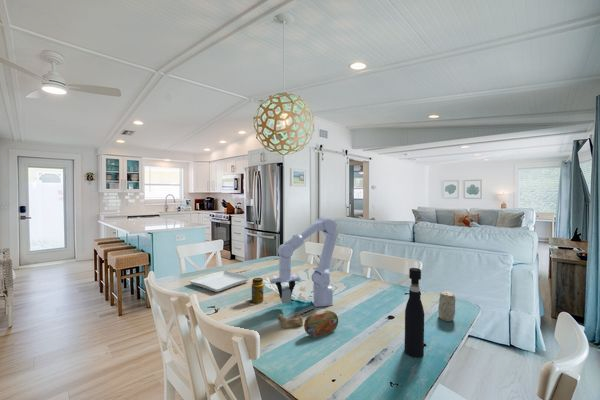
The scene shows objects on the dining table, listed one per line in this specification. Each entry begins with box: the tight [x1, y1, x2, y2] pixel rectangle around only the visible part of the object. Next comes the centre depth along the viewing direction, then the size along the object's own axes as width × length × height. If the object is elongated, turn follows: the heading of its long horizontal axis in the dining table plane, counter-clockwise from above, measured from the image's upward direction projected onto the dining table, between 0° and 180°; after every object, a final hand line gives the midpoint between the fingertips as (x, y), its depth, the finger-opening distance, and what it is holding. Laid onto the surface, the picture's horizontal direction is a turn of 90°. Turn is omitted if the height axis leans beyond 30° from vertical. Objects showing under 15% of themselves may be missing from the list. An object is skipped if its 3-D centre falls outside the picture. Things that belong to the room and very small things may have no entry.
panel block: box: [279, 285, 292, 304], centre depth 138 cm, size 4×7×6 cm, turn 13°
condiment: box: [245, 277, 267, 306], centre depth 147 cm, size 7×8×12 cm
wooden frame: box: [277, 311, 304, 329], centre depth 125 cm, size 9×11×4 cm
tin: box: [303, 310, 339, 338], centre depth 115 cm, size 15×3×8 cm, turn 117°
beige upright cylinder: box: [437, 290, 456, 322], centre depth 128 cm, size 6×8×12 cm
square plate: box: [188, 270, 252, 293], centre depth 176 cm, size 27×27×4 cm
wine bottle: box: [404, 267, 425, 359], centre depth 101 cm, size 6×6×30 cm
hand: (285, 297), depth 138 cm, fingers closed on panel block, 4 cm apart
